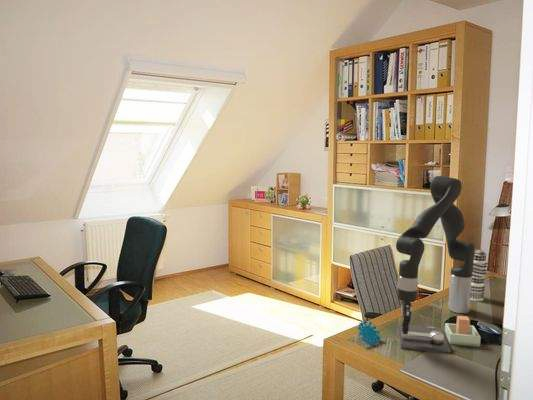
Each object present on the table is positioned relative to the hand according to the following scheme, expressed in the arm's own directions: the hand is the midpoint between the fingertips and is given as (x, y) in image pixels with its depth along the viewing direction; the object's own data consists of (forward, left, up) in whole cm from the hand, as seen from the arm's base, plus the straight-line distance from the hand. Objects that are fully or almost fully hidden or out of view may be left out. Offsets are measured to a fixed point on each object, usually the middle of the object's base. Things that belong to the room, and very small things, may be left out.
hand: (405, 329), depth 174 cm
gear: (+3, -14, -5) cm, 15 cm away
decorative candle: (-62, +41, -5) cm, 74 cm away
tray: (-8, +23, -5) cm, 25 cm away
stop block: (-8, +23, -4) cm, 25 cm away
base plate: (-4, +7, -5) cm, 9 cm away
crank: (0, +7, -3) cm, 7 cm away
